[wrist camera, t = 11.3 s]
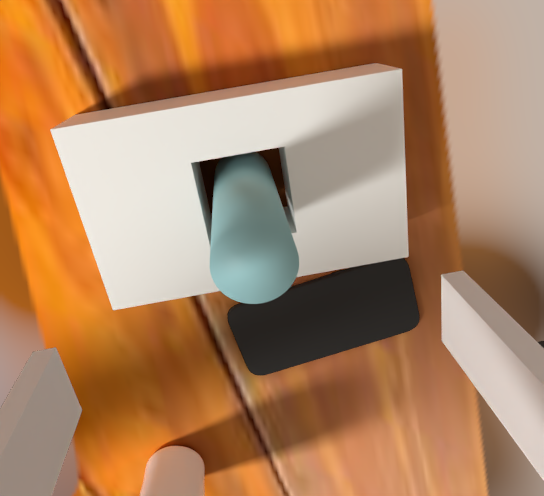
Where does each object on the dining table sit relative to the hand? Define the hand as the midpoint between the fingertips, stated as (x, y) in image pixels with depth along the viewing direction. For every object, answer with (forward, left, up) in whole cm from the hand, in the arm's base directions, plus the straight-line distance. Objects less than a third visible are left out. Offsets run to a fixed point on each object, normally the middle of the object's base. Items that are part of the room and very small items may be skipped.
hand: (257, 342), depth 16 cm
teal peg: (0, 0, -20) cm, 20 cm away
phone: (+5, -13, -20) cm, 24 cm away
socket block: (0, 0, -20) cm, 20 cm away
